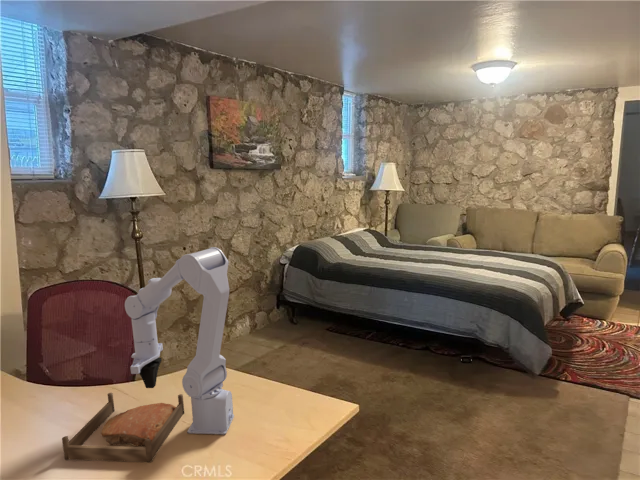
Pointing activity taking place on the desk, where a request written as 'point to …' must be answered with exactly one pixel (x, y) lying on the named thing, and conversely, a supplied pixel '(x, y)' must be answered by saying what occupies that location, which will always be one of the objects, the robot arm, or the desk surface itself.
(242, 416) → the desk surface
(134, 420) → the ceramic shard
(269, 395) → the desk surface
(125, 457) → the wooden square frame
